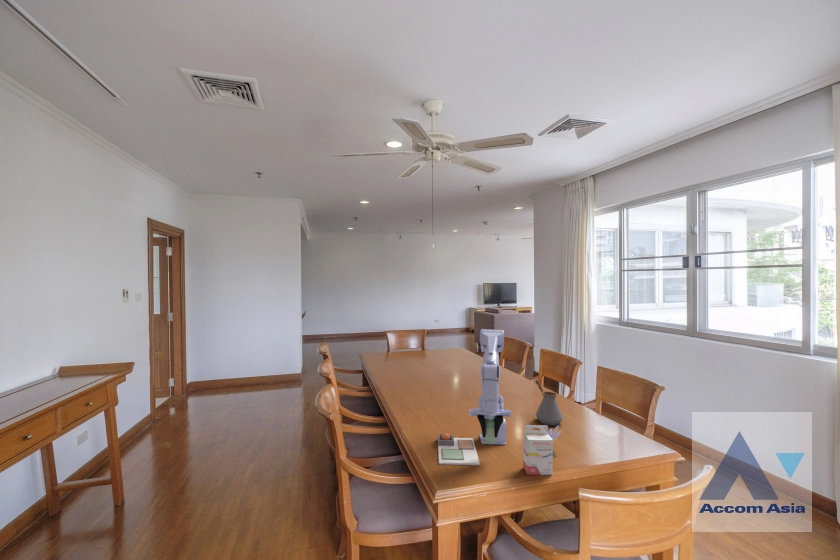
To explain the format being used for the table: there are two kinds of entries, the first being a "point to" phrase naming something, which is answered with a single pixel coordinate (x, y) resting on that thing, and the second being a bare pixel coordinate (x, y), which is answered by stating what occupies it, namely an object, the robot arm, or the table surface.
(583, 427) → the table surface
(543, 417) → the coffee pot
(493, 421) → the green rounded cylinder
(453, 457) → the picture board
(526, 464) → the ink cartridge box
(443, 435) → the button
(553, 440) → the water lily
